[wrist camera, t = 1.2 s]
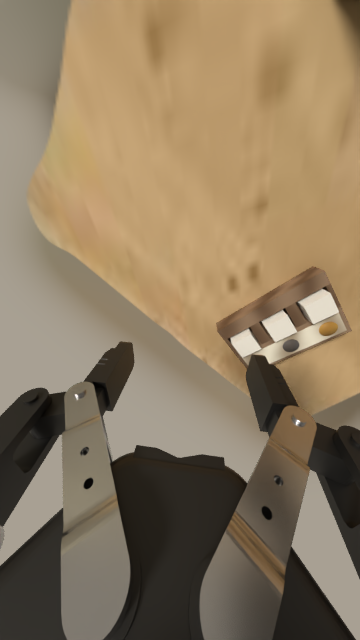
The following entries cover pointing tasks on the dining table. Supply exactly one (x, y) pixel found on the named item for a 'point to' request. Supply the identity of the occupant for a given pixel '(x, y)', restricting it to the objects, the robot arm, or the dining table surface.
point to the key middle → (279, 326)
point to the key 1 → (245, 343)
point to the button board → (287, 301)
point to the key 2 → (318, 306)
